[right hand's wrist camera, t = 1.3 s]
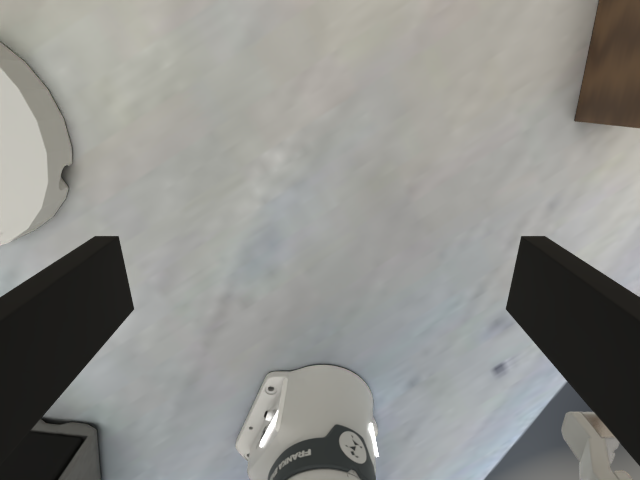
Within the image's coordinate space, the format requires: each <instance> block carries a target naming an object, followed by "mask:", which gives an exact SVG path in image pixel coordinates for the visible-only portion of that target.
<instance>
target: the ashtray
mask: <svg viewBox="0 0 640 480" xmlns="http://www.w3.org/2000/svg"><path fill="white" fill-rule="evenodd" d="M71 164H72V146H71V143H70V139H69V136H68V132H67V129H66V125H65V122H64V118H63V116H62V115H61V113H60V111H59V109H58V107H57V105H56V103H55V102H54V100H53V98H52V96H51V94H50V92H49V91H48V89H47V88H46V86H45V85H44V84H43V83H42V82H41V80H40V79H39V78H38V77H37V76H36V75H35V73H34V72H33V71H32V70H31V69H30V67H29V66H28V65H27V64H26V63H25V62H24V61H23V60H22V59H21V58H19V57H18V56H17V55H16V54H14V53H13V52H12V51H11V50H9V49H8V48H7V47H6V46H4V45H3V44H2V43H1V42H0V245H3V244H6V243H9V242H11V241H13V240H15V239H17V238H20V237H22V236H24V235H26V234H28V233H30V232H32V231H34V230H36V229H37V228H39V227H40V226H41V225H43V224H44V223H45V222H47V221H48V220H50V219H51V218H52V217H53V216H54V215H55V213H56V212H57V211H58V209H59V208H60V206H61V205H62V203H63V202H64V200H65V199H66V196H67V193H68V189H69V187H68V186H67V185H66V183H65V182H64V181H63V179H62V178H61V173H62V170H63V168H64V166H66V165H68V166H70V165H71Z"/></svg>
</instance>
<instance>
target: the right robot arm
mask: <svg viewBox="0 0 640 480" xmlns="http://www.w3.org/2000/svg"><path fill="white" fill-rule="evenodd" d="M133 310H134V306H133V302H132V297H131V292H130V288H129V283H128V278H127V273H126V269H125V264H124V259H123V255H122V250H121V245H120V241H119V236H95V237H93V238H92V239H90V240H88V241H87V242H85V243H84V244H82V245H81V246H79V247H78V248H76V249H75V250H73V251H71V252H70V253H68V254H67V255H65V256H64V257H62V258H61V259H59V260H57V261H56V262H54V263H53V264H51V265H50V266H48V267H47V268H45V269H44V270H42V271H40V272H39V273H37V274H36V275H34V276H33V277H31V278H30V279H28V280H26V281H25V282H23V283H22V284H20V285H19V286H17V287H16V288H14V289H12V290H11V291H9V292H8V293H6V294H5V295H3V296H2V297H0V466H1V465H2V463H3V462H4V461H5V460H6V459H7V457H8V456H9V455H10V454H11V453H12V452H13V450H14V449H15V448H16V447H17V446H18V445H19V443H20V442H21V441H22V440H23V439H24V438H25V436H26V435H27V434H28V433H29V432H30V431H31V429H32V428H33V427H34V426H35V425H36V424H37V422H38V421H39V420H40V419H41V418H42V416H43V415H44V414H45V413H46V412H47V411H48V409H49V408H50V407H51V406H52V405H53V404H54V402H55V401H56V400H57V399H58V398H59V397H60V395H61V394H62V393H63V392H64V391H65V390H66V388H67V387H68V386H69V385H70V384H71V382H72V381H73V380H74V379H75V378H76V377H77V375H78V374H79V373H80V372H81V371H82V370H83V368H84V367H85V366H86V365H87V364H88V363H89V361H90V360H91V359H92V358H93V357H94V356H95V354H96V353H97V352H98V351H99V350H100V348H101V347H102V346H103V345H104V344H105V343H106V341H107V340H108V339H109V338H110V337H111V336H112V334H113V333H114V332H115V331H116V330H117V329H118V327H119V326H120V325H121V324H122V323H123V322H124V320H125V319H126V318H127V317H128V316H129V315H130V313H131V312H132V311H133ZM506 310H507V311H508V312H509V313H510V315H511V316H512V317H513V318H514V319H515V320H516V322H517V323H518V324H519V325H520V326H521V327H522V329H523V330H524V331H525V332H526V333H527V334H528V336H529V337H530V338H531V339H532V340H533V341H534V343H535V344H536V345H537V346H538V347H539V348H540V350H541V351H542V352H543V353H544V354H545V356H546V357H547V358H548V359H549V360H550V361H551V363H552V364H553V365H554V366H555V367H556V368H557V370H558V371H559V372H560V373H561V374H562V375H563V377H564V378H565V379H566V380H567V381H568V382H569V384H570V385H571V386H572V387H573V388H574V389H575V391H576V392H577V393H578V394H579V395H580V397H581V398H582V399H583V400H584V401H585V402H586V404H587V405H588V406H589V407H590V408H591V409H592V411H593V412H594V413H595V414H596V415H597V416H598V418H599V419H600V420H601V421H602V422H603V424H604V425H605V426H606V427H607V428H608V429H609V431H610V432H611V433H612V434H613V435H614V436H615V438H616V439H617V440H618V441H619V442H620V443H621V445H622V446H623V447H624V448H625V449H626V450H627V452H628V453H629V454H630V455H631V456H632V457H633V459H634V460H635V461H636V462H637V463H638V465H639V466H640V297H638V296H637V295H635V294H634V293H632V292H631V291H629V290H628V289H626V288H624V287H623V286H621V285H620V284H618V283H617V282H615V281H614V280H612V279H610V278H609V277H607V276H606V275H604V274H603V273H601V272H600V271H598V270H596V269H595V268H593V267H592V266H590V265H589V264H587V263H586V262H584V261H583V260H581V259H579V258H578V257H576V256H575V255H573V254H572V253H570V252H569V251H567V250H565V249H564V248H562V247H561V246H559V245H558V244H556V243H555V242H553V241H552V240H550V239H548V238H547V237H545V236H521V241H520V245H519V250H518V255H517V259H516V264H515V269H514V273H513V278H512V283H511V288H510V292H509V297H508V302H507V306H506Z"/></svg>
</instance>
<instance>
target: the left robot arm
mask: <svg viewBox="0 0 640 480" xmlns="http://www.w3.org/2000/svg"><path fill="white" fill-rule="evenodd" d="M270 386H272V387H270ZM562 434H563V438H564V440H565V441H566V443H567V444H568V445H569V447H570V448H571V450H572V451H573V453H574V454H575V456H576V457H577V459H578V460H579V462H580V464H579V473H580V480H633V479H632V478H631V476H630V475H629V474H628V473H627V472H625V471H614V473H613V472H612V471H611V467H610V464H612V461H613V459H614V456H615V453H614V452H613V451H614V450H615V449H617V448H618V446H619V443H620V442H619V441H618V440H617V439H616V438H615V436H614V435H613V434H612V433H611V432H610V431H609V429H608V428H607V427H606V426H605V425H604V424H603V422H602V421H601V420H600V419H599V418H598V416H597V415H596V414H595V413H594V412H567V413H566V415H565V418H564V422H563V425H562ZM377 435H378V427H377V424H376V421H375V419H374V417H373V397H372V393H371V391H370V389H369V387H368V385H367V384H366V383H365V382H364V381H363V380H362V379H361V378H360V377H359V376H358V375H356V374H355V373H353V372H351V371H349V370H347V369H344V368H341V367H338V366H332V365H313V366H308V367H304V368H301V369H298V370H295V371H290V372H288V371H276V372H270V373H269V374H267V376H266V377H265V379H264V382H263V384H262V386H261V388H260V390H259V392H258V394H257V397H256V399H255V401H254V403H253V405H252V407H251V409H250V412H249V414H248V416H247V418H246V420H245V422H244V424H243V427H242V429H241V431H240V433H239V435H238V437H237V440H236V449H237V450H238V452H239V453H240V454H241V455H242V456H243V457H244V458H245V459H246V460H247V461H248V467H247V473H248V476H249V478H250V480H376V476H375V472H376V467H375V453H376V457H379V456H378V450H377V445H376V440H375V437H376V436H377Z"/></svg>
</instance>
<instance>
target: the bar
mask: <svg viewBox="0 0 640 480" xmlns="http://www.w3.org/2000/svg"><path fill="white" fill-rule="evenodd" d="M575 121H578V122H587V123H596V124H605V125H614V126H624V127H633V128H640V0H599V4H598V9H597V13H596V18H595V23H594V28H593V33H592V38H591V43H590V48H589V53H588V57H587V62H586V67H585V72H584V77H583V82H582V87H581V92H580V97H579V101H578V106H577V111H576V116H575Z"/></svg>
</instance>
